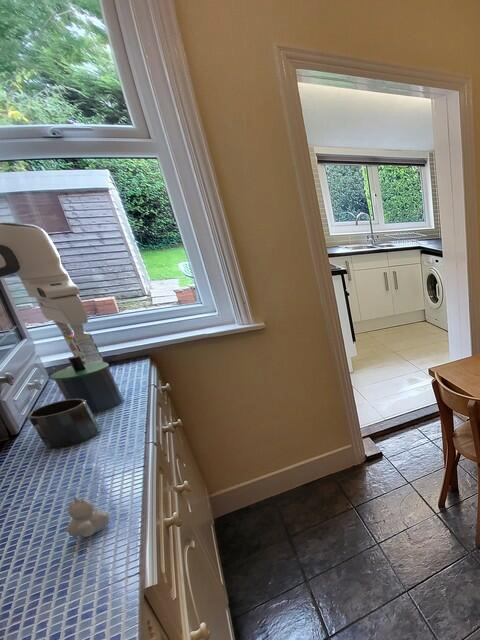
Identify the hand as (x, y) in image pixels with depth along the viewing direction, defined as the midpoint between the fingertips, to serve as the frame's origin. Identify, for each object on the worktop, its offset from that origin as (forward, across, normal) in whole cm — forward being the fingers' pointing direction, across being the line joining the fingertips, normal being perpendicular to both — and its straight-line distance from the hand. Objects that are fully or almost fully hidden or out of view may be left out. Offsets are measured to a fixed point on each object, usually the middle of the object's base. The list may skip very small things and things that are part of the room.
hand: (74, 337), depth 115 cm
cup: (+22, +14, -12) cm, 29 cm away
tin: (+22, -5, -1) cm, 23 cm away
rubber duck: (+23, +65, -24) cm, 73 cm away
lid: (+11, -5, -1) cm, 12 cm away
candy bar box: (+23, -40, +10) cm, 47 cm away
